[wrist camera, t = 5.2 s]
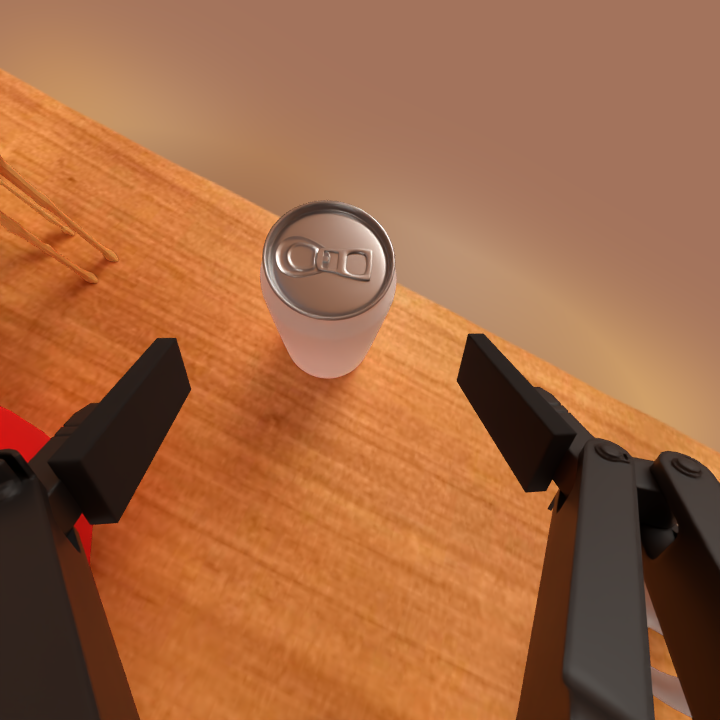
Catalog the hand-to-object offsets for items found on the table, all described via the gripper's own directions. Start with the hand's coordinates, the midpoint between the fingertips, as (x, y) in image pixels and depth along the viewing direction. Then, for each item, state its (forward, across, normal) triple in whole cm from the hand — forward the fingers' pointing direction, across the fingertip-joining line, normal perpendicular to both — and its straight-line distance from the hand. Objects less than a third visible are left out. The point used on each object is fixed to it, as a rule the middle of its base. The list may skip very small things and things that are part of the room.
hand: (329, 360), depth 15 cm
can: (+10, 0, -4) cm, 11 cm away
